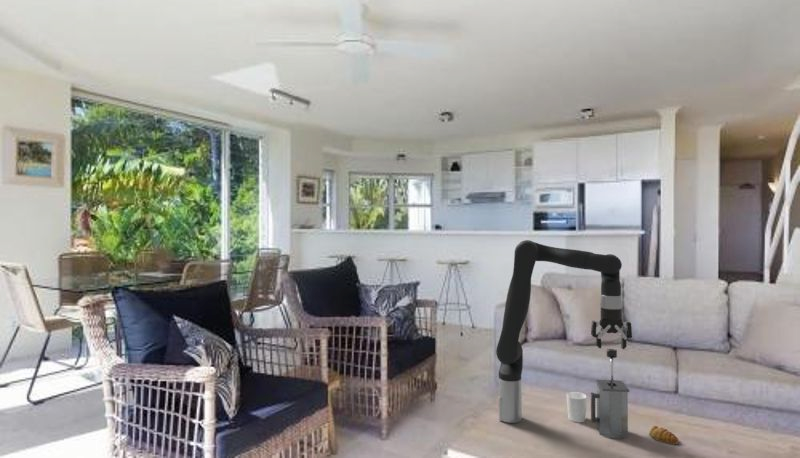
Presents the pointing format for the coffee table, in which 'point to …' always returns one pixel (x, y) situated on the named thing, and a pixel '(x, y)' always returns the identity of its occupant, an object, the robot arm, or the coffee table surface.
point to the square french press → (611, 409)
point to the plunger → (611, 362)
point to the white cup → (576, 406)
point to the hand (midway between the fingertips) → (611, 348)
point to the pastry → (663, 435)
